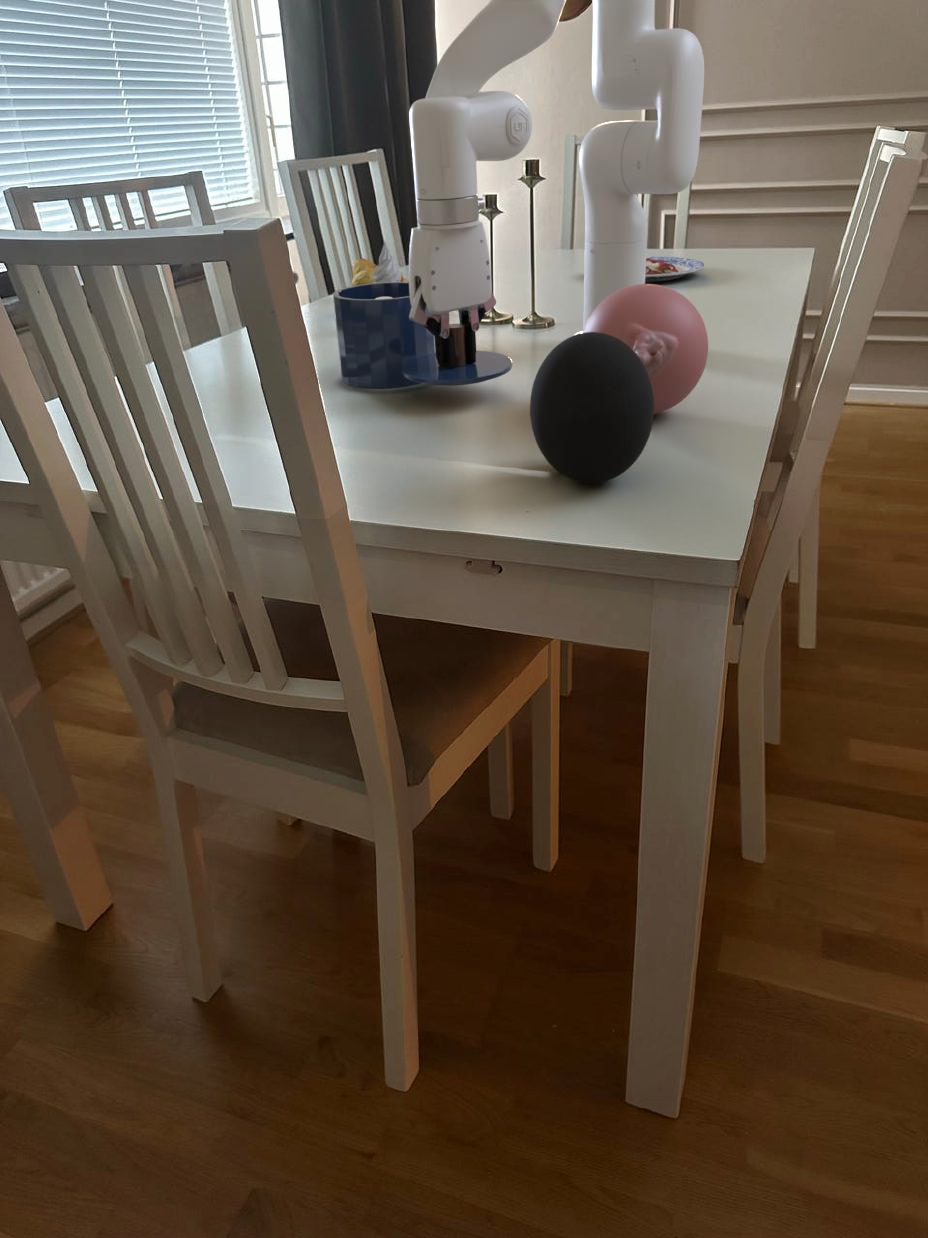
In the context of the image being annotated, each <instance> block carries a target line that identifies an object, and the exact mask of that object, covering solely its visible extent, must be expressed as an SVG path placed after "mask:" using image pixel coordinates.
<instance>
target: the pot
mask: <svg viewBox="0 0 928 1238" xmlns="http://www.w3.org/2000/svg"><path fill="white" fill-rule="evenodd" d="M378 297H392V298H389V299H376V298H378ZM332 300H333V310H334V318H335V328H336V337H337V348H338V356H339V365H340V375H341V381H342V383H344V384H346V385H347V386H350V387H354V388H358V389H367V390H368V389H370V390H391V389H400V388H407V387H413V386H418V385H422V384H423V383H420V382H415V381H412V380H409V379H407V378H406V377H404V376H403V374H402V367H403V365H404V364H405V363H407V362H408V361H410V360H412V359H415V358H418V357H421V356H425V355H429V354H434V353H436V350H435V336H434V335H432V334H431V333H430V331H429V330H428V329H427V328H426V327H424V326H423V325H421V324H418V323H416V322H413V321H411V320H410V319H409V315H410V311H411V308H412V306H411V302H410V293H409V282H383V283H371V284H363V285H356V286H351V285H350V286H347V287H343V288H340V289H337V290H335V291H334V292H332ZM425 315H427V316H429V317H430V312H429V311H428V310H427V309H425Z"/></svg>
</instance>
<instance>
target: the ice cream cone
mask: <svg viewBox="0 0 928 1238" xmlns="http://www.w3.org/2000/svg"><path fill="white" fill-rule="evenodd" d="M400 270H401V269H400V267H399V266H398V265H397V263H395V258H394V256H393V255H392V254H391V251H390V249H389V247H388V245H387V242H386V240H384V241H383V245H382V248H381V252H380V255H379V257H378V264H377V267H376V268H375V272H374V273H373V277H374V278H375V280H374V283H383V282H400V280H401V271H402V270H401V271H400Z"/></svg>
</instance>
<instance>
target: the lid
mask: <svg viewBox="0 0 928 1238" xmlns="http://www.w3.org/2000/svg"><path fill="white" fill-rule="evenodd" d="M449 336H450V337H453V340H454V355H455V367H454V368H452V369H449V368H446V367H443V366H440V365H438V361H437V359H436V353H434V354H429V355H425V356H421V357H418V358H415V359H412V360H410V361H408V362H407V363H405V364H404V365H403V367H402V374H403V376H404V377H406V378H407V379H409V380H412V381H415V382H420V383H422V384H427V385H432V386H442V387H444V386H445V387H452V386H453V387H455V386H467V385H475V384H480V383H484V382H487V381H490V380H493V379H497V378H498V377H502V376H504V375H506V374H507V373H509V372H510V371H511V370H512V368H513V360H512V359H511V357H509V356H507V355H505V354H502V353H499V352H494V351H488V350H487V351H486V350H476V362H475V363H472V364H471V363H468V362H467V359H466V341H465V325H464V324H460V323H449Z"/></svg>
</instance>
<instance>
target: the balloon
mask: <svg viewBox="0 0 928 1238" xmlns="http://www.w3.org/2000/svg"><path fill="white" fill-rule="evenodd" d="M582 331H583V332H582V333H586V332H600V333H604V334H608V335H611V336H614V337H616V338H618V339H620V340H621V341H623V342H624V343H625V344H627V345H628V346H629V347H630V348H631V349H632V350H633V351H634V352H635V353H636V354H637V356H638V357H639V358H640V360H641V361H642V363H643V365H644V366H645V368H646V371H647V373H648V376H649V378H650V382H651V386H652V390H653V396H654V415H657V414H661V413H663V412H666V411H668V410H670V409H672V408H674V407H676V406H677V405H678V404H680V403H681V402H682V401H683V400H685V399H686V398H687V397H688V396H689V395H690V394H691V393H692V391H694V389H695V388H696V386H697V385H698V383H699V382H700V380H701V378H702V377H703V374H704V371H705V368H706V365H707V360H708V357H709V356H708V355H709V354H708V353H709V337H708V332H707V327H706V325H705V322H704V320H703V317H702V316H701V313H700V311H698V309H697V307H695V305H694V304H693V303H692V301H690V300H689V299H688V298H687V297H686V296H685V295H683V294H682V293H680V292H678V291H677V290H675V289H673V288H670V287H669V286H668V287H667V286H665V285H660V284H656V283H655V284H654V283H645V284H638V285H633V286H629V287H626V288H623V289H621V290H619V291H617V292H615V293H613V294H611V295H610V296H609V297H607V298H606V299H605V300H603V301H602V302H601V303H600V304H599V305H598V306H597V307H596V309H595V310H594V311H593V312H592V314H591V315H590V317H589V319H588V320H587V322H586V324H585V327H584V329H583V328H582Z"/></svg>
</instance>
